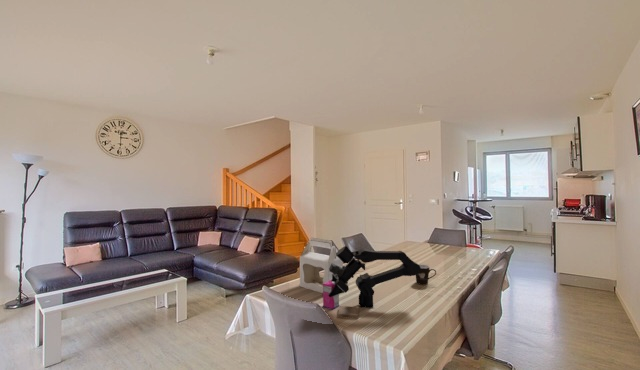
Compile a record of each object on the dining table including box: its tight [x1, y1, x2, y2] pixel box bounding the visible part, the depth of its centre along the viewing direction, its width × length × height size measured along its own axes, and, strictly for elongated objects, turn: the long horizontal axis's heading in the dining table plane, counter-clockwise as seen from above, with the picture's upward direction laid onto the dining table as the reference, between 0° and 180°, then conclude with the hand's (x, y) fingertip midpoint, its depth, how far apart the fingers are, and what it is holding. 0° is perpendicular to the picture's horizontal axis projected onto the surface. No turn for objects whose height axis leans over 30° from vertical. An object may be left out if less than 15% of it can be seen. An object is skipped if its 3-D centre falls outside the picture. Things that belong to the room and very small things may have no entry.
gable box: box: [299, 237, 344, 294], centre depth 172 cm, size 22×13×28 cm, turn 50°
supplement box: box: [322, 281, 340, 311], centre depth 145 cm, size 6×6×12 cm
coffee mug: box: [415, 263, 437, 286], centre depth 178 cm, size 12×9×10 cm
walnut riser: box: [337, 305, 360, 319], centre depth 137 cm, size 9×9×2 cm
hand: (328, 292), depth 145 cm, fingers open, 9 cm apart
